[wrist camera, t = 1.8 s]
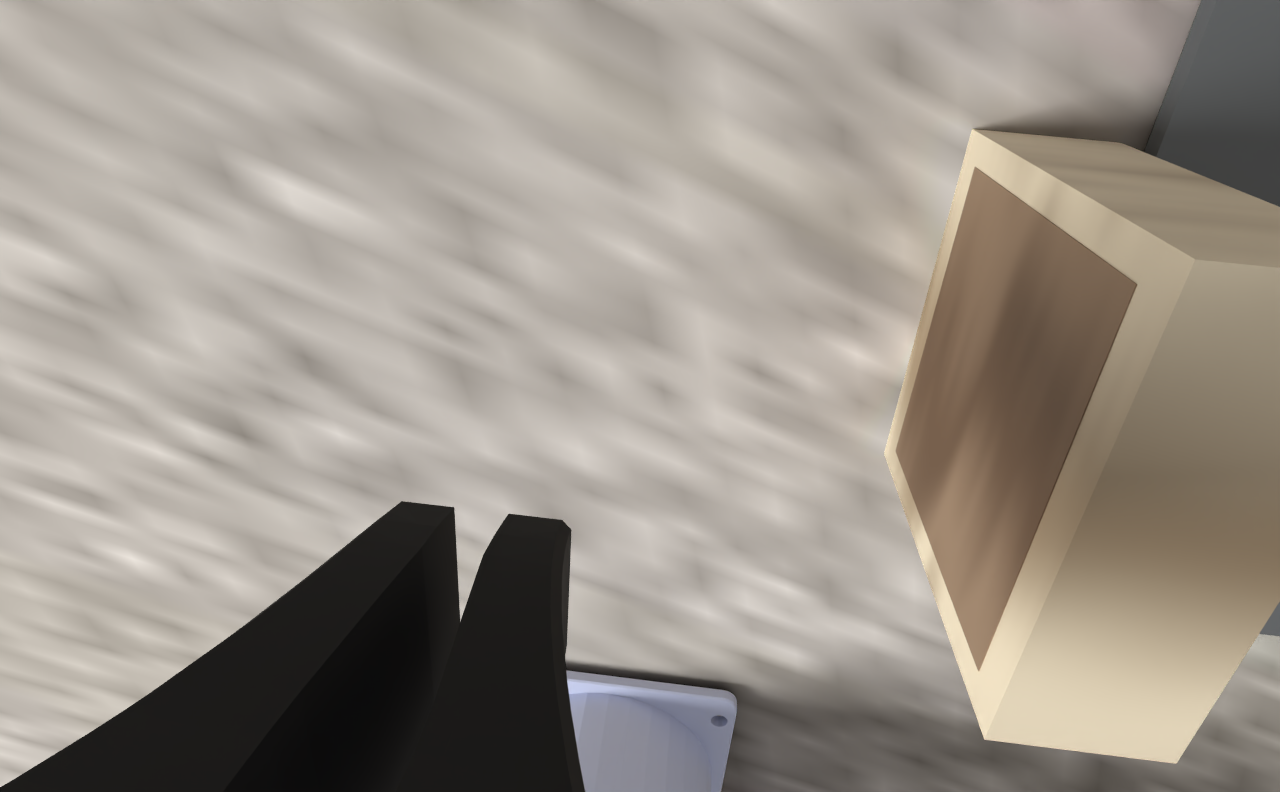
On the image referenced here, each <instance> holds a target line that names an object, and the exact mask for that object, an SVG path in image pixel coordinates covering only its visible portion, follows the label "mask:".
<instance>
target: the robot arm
mask: <svg viewBox="0 0 1280 792" xmlns="http://www.w3.org/2000/svg"><path fill="white" fill-rule="evenodd" d="M570 549H571V529H570V528H569V527H568V526H567V525H566V524H565V523H564V522H563V520H557V519H549V518H540V517H532V516H523V515H514V514H508V516H507V517H506V519H505V520H504V522H503V523H502V525H501V526H500V528H499V529H498V531H497V532H496V534H495V535H494V537H493V539H492V541H491V542H490V544H489V546H488V548H487V549H486V551H485V553H484V555H483V558H482V560H481V563H480V566H479V569H478V572H477V575H476V578H475V581H474V584H473V586H472V589H471V592H470V595H469V598H468V601H467V604H466V607H465V610H464V613H463V616H462V619H461V622H460V610H459V591H458V572H457V553H456V533H455V514H454V507H446V506H437V505H429V504H420V503H412V502H403V501H402V502H400V503H399V504H398V505H397V506H395V507H394V508H393V509H391V510H390V511H389V512H387V513H386V514H385V515H384V516H382V517H381V518H380V519H378V520H377V521H376V522H375V523H373V524H372V525H371V526H370V527H368V528H367V529H366V530H365V531H363V532H362V533H361V534H360V535H358V536H357V537H356V538H355V539H354V540H352V541H351V542H350V543H349V544H347V545H346V546H345V547H344V548H342V549H341V550H340V551H339V552H338V553H336V554H335V555H334V556H333V557H331V558H330V559H329V560H328V561H326V562H325V563H324V564H323V565H321V566H320V567H319V568H318V569H316V570H315V571H314V572H313V573H311V574H310V575H309V576H308V577H306V578H305V579H304V580H303V581H301V582H300V583H299V584H297V585H296V586H295V587H294V588H292V589H291V590H290V591H288V592H287V593H286V594H284V595H283V596H282V597H281V598H279V599H278V600H277V601H275V602H274V603H273V604H272V605H270V606H269V607H268V608H266V609H265V610H264V611H262V612H261V613H260V614H259V615H257V616H256V617H255V618H253V619H252V620H251V621H250V622H248V623H247V624H246V625H244V626H243V627H242V628H240V629H239V630H238V631H236V632H235V633H234V634H232V635H231V636H230V637H228V638H227V639H226V640H224V641H223V642H221V643H220V644H218V645H217V646H216V647H214V648H213V649H211V650H210V651H209V652H207V653H206V654H204V655H203V656H202V657H200V658H199V659H197V660H196V661H195V662H193V663H192V664H190V665H189V666H188V667H186V668H185V669H183V670H182V671H181V672H179V673H178V674H176V675H175V676H173V677H172V678H171V679H169V680H168V681H166V682H165V683H164V684H162V685H161V686H159V687H158V688H157V689H155V690H154V691H152V692H151V693H149V694H148V695H147V696H145V697H144V698H142V699H141V700H139V701H138V702H136V703H135V704H133V705H132V706H130V707H129V708H127V709H126V710H124V711H123V712H121V713H120V714H118V715H116V716H115V717H113V718H112V719H110V720H109V721H107V722H106V723H104V724H103V725H101V726H99V727H98V728H96V729H95V730H93V731H92V732H90V733H89V734H87V735H85V736H84V737H82V738H81V739H79V740H77V741H76V742H74V743H72V744H71V745H69V746H68V747H66V748H64V749H63V750H61V751H59V752H58V753H56V754H55V755H53V756H51V757H50V758H48V759H46V760H45V761H43V762H42V763H40V764H38V765H37V766H35V767H33V768H32V769H30V770H28V771H27V772H25V773H24V774H22V775H20V776H19V777H17V778H15V779H14V780H12V781H10V782H9V783H7V784H5V785H4V786H2V787H0V792H721V789H722V784H723V779H724V774H725V769H726V764H727V759H728V754H729V749H730V744H731V739H732V734H733V729H734V724H735V719H736V714H737V699H736V697H735V696H734V695H733V694H732V693H730V692H729V691H725V690H719V689H711V688H703V687H695V686H687V685H679V684H671V683H663V682H655V681H647V680H639V679H631V678H623V677H615V676H607V675H599V674H591V673H583V672H575V671H567V670H566V662H565V653H566V646H567V625H568V600H569V575H570ZM717 715H721V716H717Z"/></svg>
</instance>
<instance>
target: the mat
mask: <svg viewBox="0 0 1280 792" xmlns="http://www.w3.org/2000/svg"><path fill="white" fill-rule="evenodd" d="M1144 152H1145V153H1147V154H1150V155H1152V156H1155V157H1157V158H1160V159H1162V160H1165V161H1167V162H1170V163H1172V164H1174V165H1177V166H1179V167H1182V168H1184V169H1187V170H1189V171H1192V172H1194V173H1197V174H1199V175H1202V176H1204V177H1207V178H1209V179H1212V180H1214V181H1217V182H1219V183H1222V184H1224V185H1227V186H1229V187H1232V188H1234V189H1236V190H1239V191H1241V192H1244V193H1246V194H1249V195H1251V196H1254V197H1256V198H1259V199H1261V200H1264V201H1266V202H1269V203H1271V204H1274V205H1276V206H1279V207H1280V0H1202V1H1201V3H1200V6H1199V9H1198V11H1197V14H1196V16H1195V19H1194V22H1193V24H1192V27H1191V30H1190V32H1189V35H1188V38H1187V40H1186V43H1185V45H1184V48H1183V51H1182V53H1181V56H1180V59H1179V61H1178V64H1177V66H1176V69H1175V72H1174V74H1173V77H1172V80H1171V82H1170V85H1169V87H1168V90H1167V93H1166V95H1165V98H1164V101H1163V103H1162V106H1161V109H1160V111H1159V114H1158V116H1157V119H1156V122H1155V124H1154V127H1153V130H1152V132H1151V135H1150V137H1149V140H1148V143H1147V145H1146V148H1145V151H1144ZM1259 634H1266V635H1274V636H1280V602H1279V603H1278V605H1277V606H1276V608H1275V610H1274V611H1273V613H1272V614H1271V616H1270V617H1269V619H1268V621H1267V622H1266V624H1265V625H1264V627H1263V628H1262V630H1261V632H1260V633H1259Z"/></svg>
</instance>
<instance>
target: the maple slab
mask: <svg viewBox="0 0 1280 792" xmlns="http://www.w3.org/2000/svg"><path fill="white" fill-rule="evenodd" d="M884 455H885V458H886V460H887V463H888V466H889V469H890V472H891V475H892V477H893V480H894V483H895V486H896V489H897V492H898V495H899V497H900V500H901V503H902V506H903V509H904V512H905V515H906V517H907V520H908V523H909V526H910V529H911V532H912V535H913V537H914V540H915V543H916V546H917V549H918V552H919V555H920V557H921V560H922V563H923V566H924V569H925V572H926V575H927V577H928V580H929V583H930V586H931V589H932V592H933V594H934V597H935V600H936V603H937V606H938V609H939V612H940V614H941V617H942V620H943V623H944V626H945V629H946V632H947V634H948V637H949V640H950V643H951V646H952V649H953V652H954V654H955V657H956V660H957V663H958V666H959V669H960V672H961V674H962V677H963V680H964V683H965V686H966V689H967V692H968V694H969V697H970V700H971V703H972V706H973V709H974V712H975V714H976V717H977V720H978V723H979V726H980V729H981V731H982V734H983V737H984V740H992V741H1000V742H1008V743H1015V744H1023V745H1031V746H1039V747H1047V748H1055V749H1063V750H1071V751H1079V752H1087V753H1095V754H1103V755H1111V756H1119V757H1127V758H1135V759H1143V760H1150V761H1158V762H1166V763H1174V764H1176V763H1177V762H1178V760H1179V759H1180V757H1181V756H1182V754H1183V752H1184V751H1185V749H1186V748H1187V746H1188V745H1189V743H1190V741H1191V740H1192V738H1193V737H1194V735H1195V734H1196V732H1197V730H1198V729H1199V727H1200V726H1201V724H1202V723H1203V721H1204V719H1205V718H1206V716H1207V715H1208V713H1209V712H1210V710H1211V708H1212V707H1213V705H1214V704H1215V702H1216V701H1217V699H1218V697H1219V696H1220V694H1221V693H1222V691H1223V690H1224V688H1225V686H1226V685H1227V683H1228V682H1229V680H1230V679H1231V677H1232V676H1233V674H1234V672H1235V671H1236V669H1237V668H1238V666H1239V665H1240V663H1241V661H1242V660H1243V658H1244V657H1245V655H1246V654H1247V652H1248V650H1249V649H1250V647H1251V646H1252V644H1253V643H1254V641H1255V639H1256V638H1257V636H1258V635H1259V633H1260V632H1261V630H1262V628H1263V627H1264V625H1265V624H1266V622H1267V621H1268V619H1269V617H1270V616H1271V614H1272V613H1273V611H1274V610H1275V608H1276V606H1277V605H1278V603H1279V602H1280V207H1279V206H1276V205H1274V204H1271V203H1269V202H1266V201H1264V200H1261V199H1259V198H1256V197H1254V196H1251V195H1249V194H1246V193H1244V192H1241V191H1239V190H1236V189H1234V188H1232V187H1229V186H1227V185H1224V184H1222V183H1219V182H1217V181H1214V180H1212V179H1209V178H1207V177H1204V176H1202V175H1199V174H1197V173H1194V172H1192V171H1189V170H1187V169H1184V168H1182V167H1179V166H1177V165H1174V164H1172V163H1170V162H1167V161H1165V160H1162V159H1160V158H1157V157H1155V156H1152V155H1150V154H1147V153H1145V152H1142V151H1140V150H1137V149H1135V148H1132V147H1130V146H1127V145H1125V144H1122V143H1119V142H1108V141H1097V140H1086V139H1075V138H1065V137H1054V136H1043V135H1032V134H1021V133H1010V132H1000V131H989V130H978V129H972V131H971V135H970V139H969V143H968V146H967V150H966V154H965V157H964V161H963V165H962V168H961V172H960V176H959V179H958V183H957V187H956V190H955V194H954V198H953V201H952V205H951V209H950V213H949V216H948V220H947V224H946V227H945V231H944V235H943V238H942V242H941V246H940V249H939V253H938V257H937V260H936V264H935V268H934V271H933V275H932V279H931V282H930V286H929V290H928V294H927V297H926V301H925V305H924V308H923V312H922V316H921V319H920V323H919V327H918V330H917V334H916V338H915V341H914V345H913V349H912V352H911V356H910V360H909V363H908V367H907V371H906V375H905V378H904V382H903V386H902V389H901V393H900V397H899V400H898V404H897V408H896V411H895V415H894V419H893V422H892V426H891V430H890V433H889V437H888V441H887V445H886V448H885V452H884Z"/></svg>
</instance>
